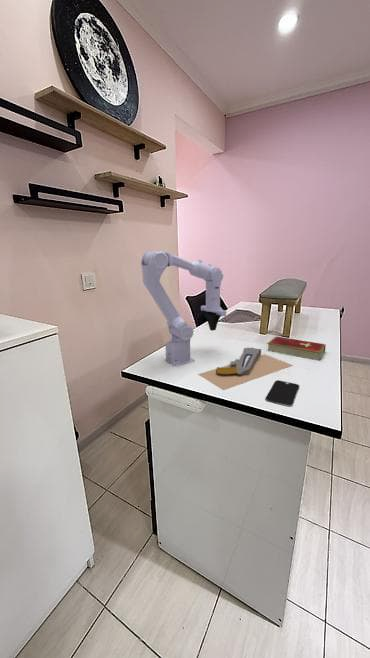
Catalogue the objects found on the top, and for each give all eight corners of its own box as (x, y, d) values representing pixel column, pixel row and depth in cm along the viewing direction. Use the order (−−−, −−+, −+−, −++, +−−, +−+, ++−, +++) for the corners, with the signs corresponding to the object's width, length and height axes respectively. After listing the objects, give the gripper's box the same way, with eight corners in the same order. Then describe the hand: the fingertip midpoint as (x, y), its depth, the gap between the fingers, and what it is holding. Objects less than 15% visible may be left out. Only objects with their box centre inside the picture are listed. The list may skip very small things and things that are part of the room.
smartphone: (300, 384, 89) (291, 406, 77) (300, 386, 90) (291, 408, 77) (275, 379, 93) (264, 399, 81) (275, 381, 93) (263, 401, 81)
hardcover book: (275, 344, 130) (276, 335, 129) (324, 352, 118) (326, 343, 117) (266, 351, 120) (267, 342, 119) (319, 361, 109) (320, 351, 108)
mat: (223, 391, 87) (223, 389, 87) (198, 375, 99) (198, 374, 99) (292, 366, 105) (293, 365, 105) (264, 355, 116) (264, 354, 116)
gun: (225, 351, 120) (261, 354, 116) (214, 377, 97) (258, 382, 93) (225, 344, 119) (261, 347, 115) (214, 369, 96) (259, 373, 92)
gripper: (232, 298, 108) (231, 332, 112) (210, 294, 120) (210, 324, 124) (218, 301, 104) (217, 335, 108) (196, 296, 116) (197, 327, 120)
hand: (212, 329), depth 116 cm, fingers closed
